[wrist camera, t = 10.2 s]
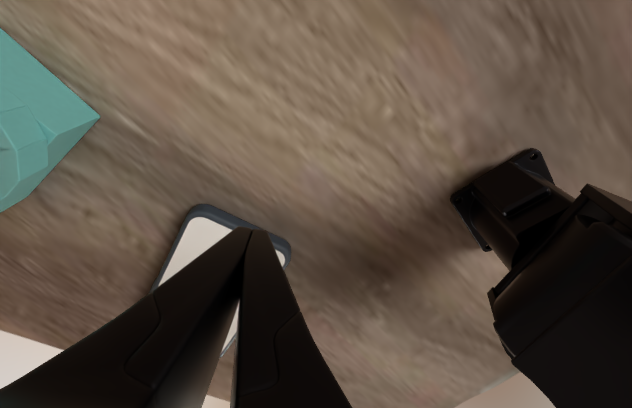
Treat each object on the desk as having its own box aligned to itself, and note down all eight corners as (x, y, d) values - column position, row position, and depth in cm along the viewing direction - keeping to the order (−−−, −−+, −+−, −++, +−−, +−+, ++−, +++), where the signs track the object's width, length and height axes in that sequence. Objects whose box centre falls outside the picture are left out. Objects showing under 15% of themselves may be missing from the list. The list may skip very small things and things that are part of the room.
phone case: (196, 194, 23) (137, 320, 30) (189, 205, 22) (128, 335, 28) (298, 242, 26) (222, 349, 32) (297, 254, 24) (218, 364, 31)
